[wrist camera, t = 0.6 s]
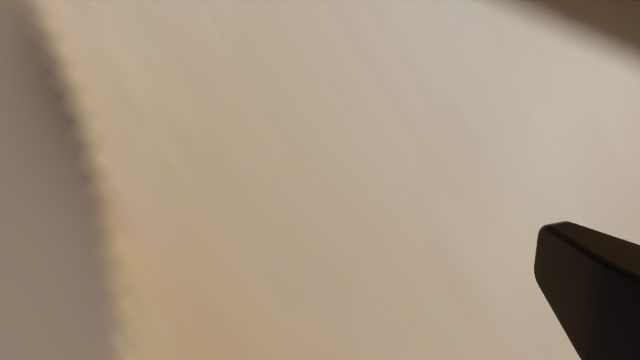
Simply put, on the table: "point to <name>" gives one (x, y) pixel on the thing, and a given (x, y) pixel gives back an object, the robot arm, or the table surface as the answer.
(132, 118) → the table surface
